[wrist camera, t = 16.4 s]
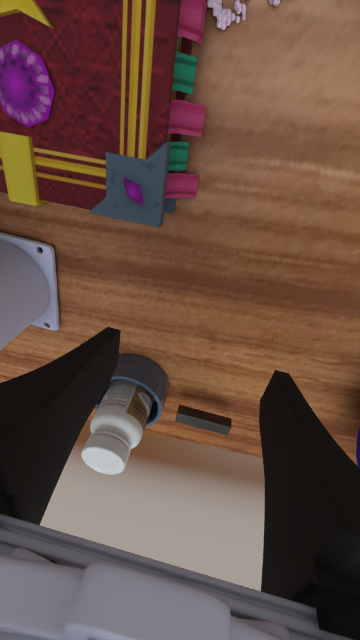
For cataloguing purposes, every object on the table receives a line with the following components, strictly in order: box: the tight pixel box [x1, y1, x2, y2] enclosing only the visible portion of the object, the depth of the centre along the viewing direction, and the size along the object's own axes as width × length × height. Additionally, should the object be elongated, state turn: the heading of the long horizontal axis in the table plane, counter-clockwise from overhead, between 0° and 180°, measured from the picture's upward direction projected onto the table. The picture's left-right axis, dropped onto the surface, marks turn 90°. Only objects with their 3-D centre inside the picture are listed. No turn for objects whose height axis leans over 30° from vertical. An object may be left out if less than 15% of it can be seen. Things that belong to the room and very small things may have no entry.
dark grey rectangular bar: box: [175, 405, 231, 435], centre depth 25 cm, size 5×1×1 cm, turn 80°
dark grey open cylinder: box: [95, 354, 169, 427], centre depth 26 cm, size 6×6×3 cm
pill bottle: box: [81, 379, 154, 474], centre depth 24 cm, size 4×4×8 cm
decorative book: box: [0, 0, 207, 227], centre depth 14 cm, size 11×16×5 cm
